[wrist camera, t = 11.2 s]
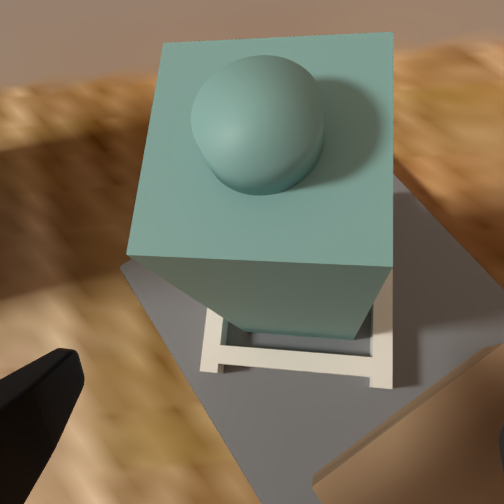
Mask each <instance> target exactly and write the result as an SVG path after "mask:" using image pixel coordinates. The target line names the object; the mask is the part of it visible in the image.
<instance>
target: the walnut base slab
mask: <svg viewBox="0 0 504 504" xmlns="http://www.w3.org/2000/svg"><path fill="white" fill-rule="evenodd" d="M503 423H504V343H501V344H497V345H493V346H489V347H485V348H481V349H480V350H479V351H477V352H476V353H475V354H473V355H472V356H471V357H469V358H468V359H467V360H465V361H464V362H463V363H461V364H460V365H459V366H457V367H456V368H455V369H453V370H452V371H451V372H449V373H448V374H447V375H445V376H444V377H443V378H441V379H440V380H439V381H437V382H436V383H435V384H433V385H432V386H431V387H429V388H428V389H427V390H425V391H424V392H423V393H421V394H420V395H419V396H417V397H416V398H415V399H413V400H412V401H411V402H409V403H408V404H407V405H405V406H404V407H403V408H401V409H400V410H399V411H398V412H396V413H395V414H394V415H392V416H391V417H390V418H388V419H387V420H386V421H384V422H383V423H382V424H380V425H379V426H378V427H376V428H375V429H374V430H372V431H371V432H370V433H368V434H367V435H366V436H364V437H363V438H362V439H360V440H359V441H358V442H356V443H355V444H354V445H352V446H351V447H350V448H348V449H347V450H346V451H344V452H343V453H342V454H340V455H339V456H338V457H336V458H335V459H334V460H332V461H331V462H330V463H328V464H327V465H326V466H324V467H323V468H322V469H320V470H319V471H318V472H316V473H315V474H314V475H313V481H312V489H313V491H314V492H315V494H316V495H317V497H318V498H319V500H320V501H321V503H322V504H504V473H503V468H502V462H501V457H500V451H499V434H500V431H501V428H502V426H503Z"/></svg>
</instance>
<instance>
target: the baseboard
mask: <svg viewBox="0 0 504 504" xmlns="http://www.w3.org/2000/svg"><path fill="white" fill-rule="evenodd" d="M119 268H120V270H121V271H122V273H123V275H124V276H125V278H126V279H127V281H128V283H129V284H130V286H131V288H132V289H133V291H134V293H135V294H136V296H137V298H138V299H139V301H140V303H141V304H142V306H143V308H144V309H145V311H146V313H147V314H148V316H149V318H150V319H151V321H152V323H153V324H154V326H155V328H156V329H157V331H158V333H159V334H160V336H161V338H162V339H163V341H164V343H165V344H166V346H167V347H168V349H169V351H170V352H171V354H172V356H173V357H174V359H175V361H176V362H177V364H178V366H179V367H180V369H181V371H182V372H183V374H184V376H185V377H186V379H187V381H188V382H189V384H190V386H191V387H192V389H193V391H194V392H195V394H196V396H197V397H198V399H199V401H200V402H201V404H202V406H203V407H204V409H205V410H206V412H207V414H208V415H209V417H210V419H211V420H212V422H213V424H214V425H215V427H216V429H217V430H218V432H219V434H220V435H221V437H222V439H223V440H224V442H225V444H226V445H227V447H228V449H229V450H230V452H231V454H232V455H233V457H234V459H235V460H236V462H237V464H238V465H239V467H240V469H241V470H242V472H243V473H244V475H245V477H246V478H247V480H248V482H249V483H250V485H251V487H252V488H253V490H254V492H255V493H256V495H257V497H258V498H259V500H260V502H261V503H262V504H322V503H321V501H320V500H319V498H318V497H317V495H316V494H315V492H314V491H313V489H312V481H313V475H314V474H315V473H316V472H318V471H319V470H320V469H322V468H323V467H324V466H326V465H327V464H328V463H330V462H331V461H332V460H334V459H335V458H336V457H338V456H339V455H340V454H342V453H343V452H344V451H346V450H347V449H348V448H350V447H351V446H352V445H354V444H355V443H356V442H358V441H359V440H360V439H362V438H363V437H364V436H366V435H367V434H368V433H370V432H371V431H372V430H374V429H375V428H376V427H378V426H379V425H380V424H382V423H383V422H384V421H386V420H387V419H388V418H390V417H391V416H392V415H394V414H395V413H396V412H398V411H399V410H400V409H401V408H403V407H404V406H405V405H407V404H408V403H409V402H411V401H412V400H413V399H415V398H416V397H417V396H419V395H420V394H421V393H423V392H424V391H425V390H427V389H428V388H429V387H431V386H432V385H433V384H435V383H436V382H437V381H439V380H440V379H441V378H443V377H444V376H445V375H447V374H448V373H449V372H451V371H452V370H453V369H455V368H456V367H457V366H459V365H460V364H461V363H463V362H464V361H465V360H467V359H468V358H469V357H471V356H472V355H473V354H475V353H476V352H477V351H479V350H480V349H481V348H485V347H489V346H493V345H497V344H501V343H504V289H503V288H502V287H501V286H500V285H499V284H498V283H497V282H496V281H495V280H494V279H493V278H492V277H491V275H490V274H489V273H488V272H487V271H486V270H485V269H484V268H483V267H482V266H481V265H480V264H479V263H478V262H477V261H476V260H475V259H474V258H473V257H472V256H471V255H470V253H469V252H468V251H467V250H466V249H465V248H464V247H463V246H462V245H461V244H460V243H459V242H458V241H457V240H456V239H455V238H454V237H453V236H452V235H451V234H450V233H449V232H448V230H447V229H446V228H445V227H444V226H443V225H442V224H441V223H440V222H439V221H438V220H437V219H436V218H435V217H434V216H433V215H432V214H431V213H430V212H429V211H428V210H427V208H426V207H425V206H424V205H423V204H422V203H421V202H420V201H419V200H418V199H417V198H416V197H415V196H414V195H413V194H412V193H411V192H410V191H409V190H408V189H407V188H406V186H405V185H404V184H403V183H402V182H401V181H400V180H399V179H398V178H397V177H396V176H395V175H394V174H393V268H392V269H391V271H390V273H389V275H388V277H387V279H386V281H385V282H384V284H383V286H382V288H381V290H380V292H379V293H378V295H377V297H376V299H375V301H374V303H373V304H372V306H371V308H370V310H369V312H368V314H367V316H366V317H365V319H364V321H363V323H362V325H361V327H360V328H359V330H358V332H357V334H356V336H355V338H354V339H353V340H344V339H331V338H317V337H304V336H291V335H278V334H264V333H251V332H244V331H243V330H241V329H239V328H238V327H236V326H235V325H233V324H232V323H230V322H229V321H227V320H226V319H224V318H223V317H221V316H219V315H218V314H216V313H215V312H213V311H212V310H210V309H209V308H207V307H206V306H204V305H203V304H201V303H199V302H198V301H196V300H195V299H193V298H192V297H190V296H189V295H187V294H186V293H184V292H182V291H181V290H179V289H178V288H176V287H175V286H173V285H172V284H170V283H169V282H167V281H166V280H164V279H162V278H161V277H159V276H158V275H156V274H155V273H153V272H152V271H150V270H149V269H147V268H145V267H144V266H142V265H141V264H139V263H138V262H136V261H135V260H133V259H132V258H131V259H130V260H129V261H127V262H126V263H124V264H123V265H122V266H120V267H119Z"/></svg>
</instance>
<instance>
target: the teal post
mask: <svg viewBox="0 0 504 504" xmlns="http://www.w3.org/2000/svg"><path fill="white" fill-rule="evenodd" d="M393 36H394V34H393V32H380V33H359V34H339V35H319V36H299V37H278V38H256V39H238V40H237V39H236V40H217V41H197V42H174V43H163V49H162V54H161V60H160V66H159V71H158V77H157V83H156V88H155V94H154V100H153V105H152V111H151V117H150V122H149V128H148V134H147V139H146V145H145V151H144V156H143V162H142V168H141V173H140V179H139V184H138V190H137V196H136V201H135V207H134V213H133V218H132V224H131V230H130V235H129V241H128V247H127V252H126V255H127V256H129V257H130V258H132V259H133V260H135V261H136V262H138V263H139V264H141V265H142V266H144V267H145V268H147V269H149V270H150V271H152V272H153V273H155V274H156V275H158V276H159V277H161V278H162V279H164V280H166V281H167V282H169V283H170V284H172V285H173V286H175V287H176V288H178V289H179V290H181V291H182V292H184V293H186V294H187V295H189V296H190V297H192V298H193V299H195V300H196V301H198V302H199V303H201V304H203V305H204V306H206V307H207V308H209V309H210V310H212V311H213V312H215V313H216V314H218V315H219V316H221V317H223V318H224V319H226V320H227V321H229V322H230V323H232V324H233V325H235V326H236V327H238V328H239V329H241V330H243V331H244V332H251V333H264V334H278V335H291V336H304V337H317V338H331V339H344V340H353V339H354V338H355V336H356V334H357V332H358V330H359V328H360V327H361V325H362V323H363V321H364V319H365V317H366V316H367V314H368V312H369V310H370V308H371V306H372V304H373V303H374V301H375V299H376V297H377V295H378V293H379V292H380V290H381V288H382V286H383V284H384V282H385V281H386V279H387V277H388V275H389V273H390V271H391V269H392V268H393Z"/></svg>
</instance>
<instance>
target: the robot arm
mask: <svg viewBox="0 0 504 504" xmlns="http://www.w3.org/2000/svg"><path fill="white" fill-rule="evenodd" d="M83 385H84V373H83V369H82V366H81V362H80V359H79V355H78V353H77V352H76V351H75V350H72V349H64V348H58V349H55V350H53V351H51V352H50V353H48V354H46V355H44V356H42V357H40V358H39V359H37V360H35V361H33V362H31V363H30V364H28V365H26V366H24V367H22V368H20V369H19V370H17V371H15V372H13V373H11V374H9V375H8V376H6V377H4V378H2V379H0V504H24V503H25V501H26V499H27V497H28V496H29V494H30V492H31V490H32V489H33V487H34V485H35V483H36V482H37V480H38V478H39V477H40V475H41V473H42V471H43V470H44V468H45V466H46V464H47V463H48V461H49V459H50V457H51V455H52V453H53V452H54V450H55V448H56V446H57V444H58V442H59V440H60V437H61V435H62V433H63V431H64V428H65V426H66V424H67V422H68V420H69V417H70V415H71V413H72V411H73V408H74V406H75V404H76V402H77V400H78V397H79V395H80V393H81V391H82V388H83ZM499 451H500V457H501V462H502V468H503V473H504V423H503V426H502V428H501V431H500V434H499Z"/></svg>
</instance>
